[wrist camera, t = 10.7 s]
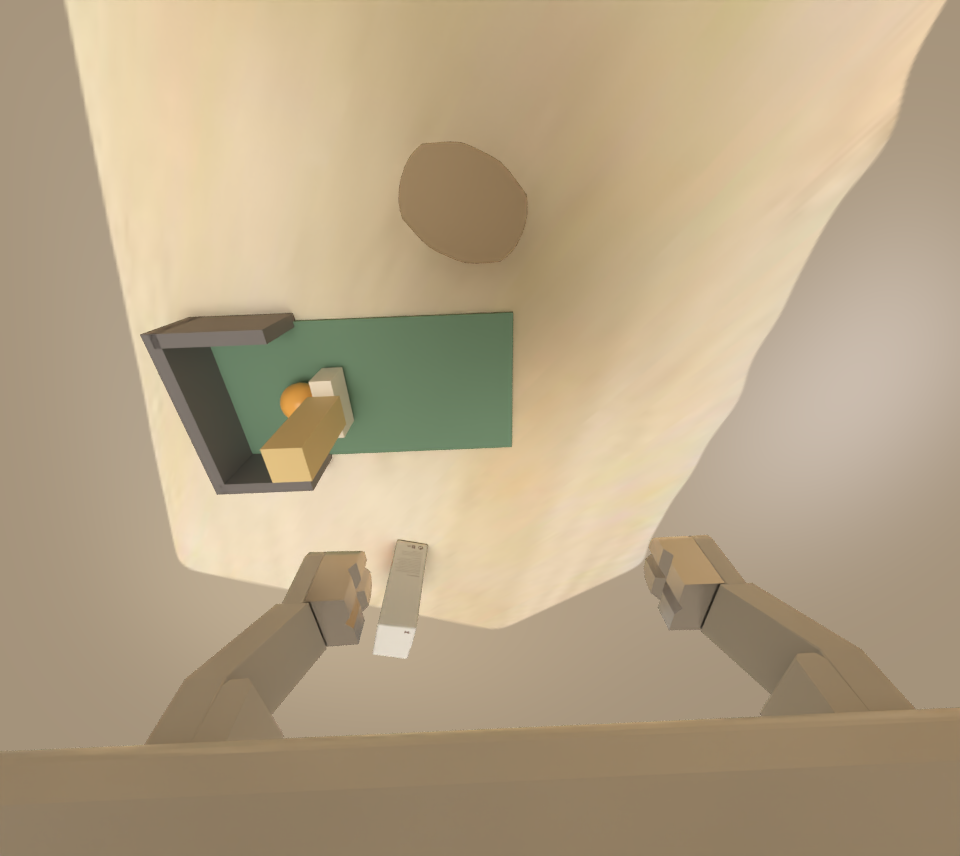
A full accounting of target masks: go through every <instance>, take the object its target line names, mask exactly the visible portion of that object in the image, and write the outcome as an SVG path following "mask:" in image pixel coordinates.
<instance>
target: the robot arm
mask: <svg viewBox="0 0 960 856" xmlns="http://www.w3.org/2000/svg"><path fill="white" fill-rule="evenodd" d="M648 548H649V549H650V551H651V553H652V554H651V555H649V556H648V557H647V558H646V559H645V564H644V574H645V580H646V583H647V586H648V588H649V590H650V592H651V593H652V594H653V595H655V596H656V597H657V598H658V599H660V602H659V605H658V609H659V611H660V613H661V615H662V617H663V619H664V621H665V623H666V625H667V627H668V629H669V630H701V632H702V633H703V634H705V635H706V636H707V637H708V638H709V639H710V640H711V641H712V642H713V643H715V644H716V645H717V646H718V647H719V648H720V649H721V650H722V651H723V652H724V653H726V654H727V655H728V656H729V657H730V658H731V659H732V660H733V661H735V662H736V663H737V664H738V665H739V666H740V667H741V668H742V669H743V670H745V671H746V672H747V673H748V674H749V675H750V676H751V677H752V678H753V679H754V680H755V681H757V682H758V683H759V684H760V685H761V686H762V687H763V688H764V689H765V690H767V691H768V692H769V693H770V694H771V695H770V697H769V698H768V700H767V701H766V703H765V704H764V706H763V708H762V710H761V713H760V715H761V716H760V717H738V718H718V719H717V718H716V719H695V720H672V721H652V722H651V721H650V722H629V723H607V724H583V725H564V726H563V725H561V726H541V727H519V728H497V729H477V730H476V729H475V730H455V731H432V732H411V733H389V734H368V735H346V736H325V737H302V738H283V737H284V735H283V733H282V731H281V729H280V727H279V726H278V724H277V723H276V721H275V719H274V718H273V716H272V714H273V712H274V711H275V710H276V709H277V708H278V706H279V705H280V704H281V703H282V702H283V700H284V699H285V698H286V697H287V696H288V694H289V693H290V692H291V691H292V690H293V688H294V687H295V686H296V685H297V684H298V682H299V681H300V680H301V679H302V678H303V676H304V675H305V674H306V673H307V672H308V670H309V669H310V668H311V667H312V666H313V664H314V663H315V662H316V661H317V659H318V658H319V657H320V656H321V655H322V653H323V652H324V651H325V650H326V647H327V646H340V645H352V644H358V643H359V640H360V636H361V632H362V628H363V625H364V621H365V620H364V617H363V613H362V611H364V610H365V609H366V608H367V607H368V606H369V602H370V598H371V589H372V580H371V574H370V571H369V570H368V569H367V568H365V565H366V561H367V559H366V555H365V552H363V551H337V552H309V553H308V554H307V555H306V556H305V557H304V559H303V562H302V564H301V566H300V568H299V570H298V572H297V574H296V576H295V578H294V580H293V582H292V584H291V586H290V588H289V590H288V592H287V594H286V596H285V598H284V600H283V602H282V604H276V605H275V606H273V607H272V608H271V609H270V610H269V611H267V612H266V613H265V614H264V615H262V616H261V617H260V618H259V619H258V620H256V621H255V622H254V623H253V624H251V625H250V626H249V627H248V628H247V629H245V630H244V631H243V632H242V633H241V634H239V635H238V636H237V637H236V638H234V639H233V640H232V641H231V642H230V643H228V644H227V645H226V646H225V647H223V649H221V650H220V651H219V652H217V653H216V654H215V655H214V656H213V657H211V658H210V659H209V660H208V661H206V662H205V663H204V664H203V665H202V666H201V667H199V668H198V669H197V670H195V671H194V672H193V673H192V674H191V675H189V676H188V677H187V678H186V679H185V680H184V681H183V683H182V685H181V686H180V688H179V689H178V691H177V693H176V694H175V696H174V697H173V699H172V701H171V702H170V704H169V705H168V707H167V709H166V710H165V712H164V714H163V715H162V717H161V718H160V720H159V722H158V724H157V725H156V726H155V728H154V730H153V731H152V733H151V734H150V736H149V738H148V739H147V741H146V743H145V744H144V745H132V746H108V747H87V748H64V749H41V750H19V751H0V856H960V707H952V708H931V709H915V708H914V706H913V705H912V704H911V703H910V702H909V701H908V700H907V699H906V698H905V697H904V695H903V694H902V693H901V692H900V691H899V690H898V689H897V688H896V687H895V686H894V685H893V684H892V682H891V681H890V680H889V679H888V678H887V677H886V676H885V675H884V674H883V673H882V671H881V670H880V669H879V668H878V667H877V666H876V665H875V664H874V662H873V661H872V660H871V659H870V658H869V657H868V656H867V655H866V654H865V652H864V651H863V650H862V649H860V648H859V647H857V646H855V645H854V644H852V643H850V642H849V641H847V640H845V639H844V638H842V637H840V636H839V635H837V634H835V633H834V632H832V631H830V630H829V629H827V628H826V627H824V626H822V625H821V624H819V623H817V622H815V621H814V620H812V619H811V618H809V617H807V616H806V615H804V614H803V613H801V612H799V611H798V610H796V609H794V608H793V607H791V606H789V605H787V604H786V603H784V602H783V601H781V600H779V599H778V598H776V597H774V596H773V595H771V594H770V593H768V592H766V591H764V590H763V589H761V588H760V587H758V586H756V585H755V584H753V583H746V582H745V581H744V579H743V578H742V577H741V575H740V574H739V573H738V571H737V570H736V569H735V567H734V566H733V565H732V564H731V562H730V561H729V560H728V558H727V557H726V556H725V554H724V553H723V552H722V551H721V549H720V548H719V547H718V545H717V544H716V543H715V541H714V540H713V539H712V538H711V537H710V536H708V535H696V536H677V537H676V536H675V537H658V538H653V539H652V540H651V541H650V544H649V547H648Z"/></svg>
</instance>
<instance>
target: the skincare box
mask: <svg viewBox="0 0 960 856" xmlns="http://www.w3.org/2000/svg"><path fill="white" fill-rule="evenodd" d="M427 548H428V545H425V544H419V543H413V542H407V541H401V540H398V541H397V544H396V548H395V553H394V557H393V561H392V565H391V569H390V573H389V578H388V582H387V586H386V590H385V595H384V599H383V604H382V608H381V612H380V617H379V622H378V626H377V631H376V636H375V643H374V649H373V654H374V655H383V656H391V657H398V658H405V659H406V658H408V655H409V651H410V648H411V646H412V643H413V639H414V635H415V631H416V627H417V621H418V614H419V606H420V599H421V592H422V584H423V577H424V570H425V563H426V555H427Z"/></svg>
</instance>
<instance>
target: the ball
mask: <svg viewBox="0 0 960 856" xmlns="http://www.w3.org/2000/svg"><path fill="white" fill-rule="evenodd" d="M307 397H312V393H311V389H310V386H309V384H308V383H295V384H292V385H290V386H288V387H287V388H286V389H285V390H284V391H283V393H282V395H281V397H280V407H281V410H282V411H283V413H284V414H285V416H287V417H288V418H289V417H290V416H291V415H292V413H293V412H294V411H295V410H296V409H297V408H298V407H299V406H300V405H301V403H302V402H303V401H304V400H305V399H306V398H307Z"/></svg>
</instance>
